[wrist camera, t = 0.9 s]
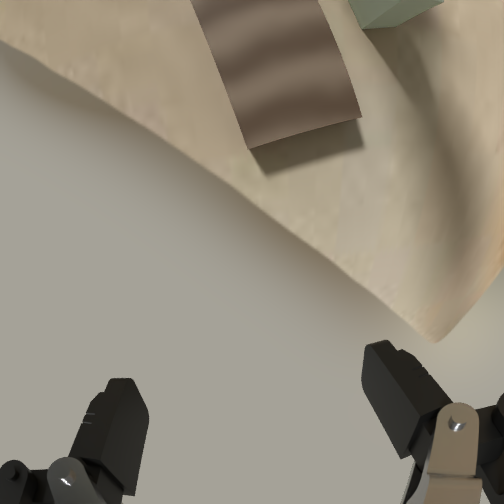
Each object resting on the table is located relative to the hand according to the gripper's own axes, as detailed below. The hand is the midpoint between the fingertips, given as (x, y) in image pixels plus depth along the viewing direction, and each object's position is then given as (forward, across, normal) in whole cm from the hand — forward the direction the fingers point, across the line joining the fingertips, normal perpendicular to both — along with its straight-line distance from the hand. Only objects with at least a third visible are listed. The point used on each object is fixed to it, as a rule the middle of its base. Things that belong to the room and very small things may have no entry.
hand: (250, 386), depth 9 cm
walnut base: (+24, -7, -18) cm, 31 cm away
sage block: (+22, -20, -25) cm, 39 cm away
